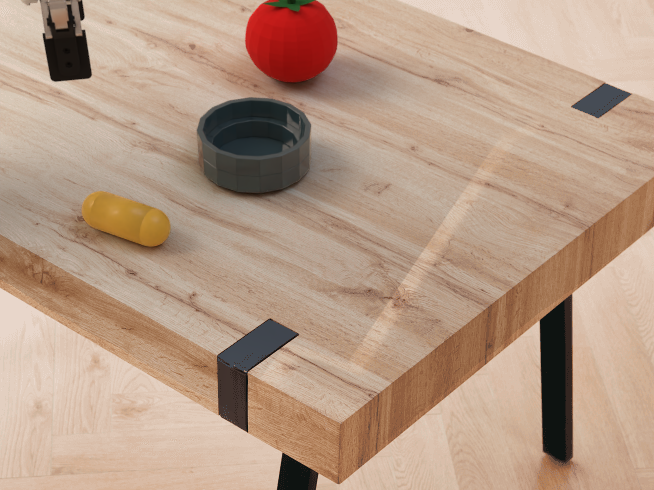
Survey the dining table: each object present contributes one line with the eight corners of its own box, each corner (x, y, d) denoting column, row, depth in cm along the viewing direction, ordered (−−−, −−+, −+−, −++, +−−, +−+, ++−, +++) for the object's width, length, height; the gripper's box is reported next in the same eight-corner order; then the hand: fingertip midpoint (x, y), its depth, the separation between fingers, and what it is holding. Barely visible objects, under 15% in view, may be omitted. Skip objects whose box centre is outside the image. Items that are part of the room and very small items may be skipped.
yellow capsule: (76, 230, 101) (71, 199, 98) (99, 209, 103) (94, 179, 101) (158, 258, 98) (154, 228, 96) (179, 237, 101) (176, 206, 98)
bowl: (179, 177, 108) (175, 139, 105) (235, 123, 116) (233, 87, 113) (278, 209, 105) (277, 171, 102) (328, 151, 112) (329, 114, 110)
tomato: (353, 86, 122) (356, 5, 116) (269, 107, 118) (267, 24, 112) (312, 45, 129) (312, -34, 122) (231, 63, 125) (227, -17, 118)
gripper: (-20, -202, 83) (20, 4, 94) (-23, -117, 70) (23, 108, 82) (80, -206, 84) (107, -3, 96) (94, -123, 72) (123, 98, 83)
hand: (68, 48), depth 89 cm, fingers open, 9 cm apart
